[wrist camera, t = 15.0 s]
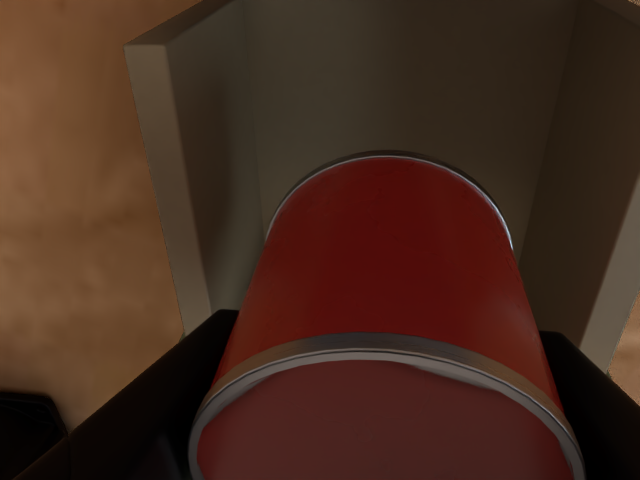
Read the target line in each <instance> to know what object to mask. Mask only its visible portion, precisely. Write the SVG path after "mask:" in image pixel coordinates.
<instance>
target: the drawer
mask: <svg viewBox="0 0 640 480" xmlns="http://www.w3.org/2000/svg"><path fill="white" fill-rule="evenodd" d="M123 50H124V55H125V59H126V64H127V69H128V73H129V78H130V82H131V87H132V92H133V96H134V101H135V106H136V110H137V115H138V119H139V124H140V129H141V133H142V138H143V143H144V147H145V152H146V156H147V161H148V166H149V170H150V175H151V180H152V184H153V189H154V193H155V198H156V203H157V207H158V212H159V217H160V221H161V226H162V230H163V235H164V240H165V244H166V249H167V253H168V258H169V263H170V267H171V272H172V277H173V281H174V286H175V290H176V295H177V300H178V304H179V309H180V314H181V318H182V323H183V327H184V332H185V337H186V336H187V335H188V334H190V333H191V332H192V331H193V330H194V329H196V328H197V327H198V326H199V325H200V324H202V323H203V322H204V321H205V320H206V319H208V318H209V317H210V316H211V315H212V314H214V313H215V312H216V311H217V310H219V309H233V310H240V308H241V306H242V303H243V300H244V298H245V295H246V293H247V290H248V287H249V285H250V282H251V279H252V277H253V274H254V271H255V269H256V266H257V264H258V261H259V258H260V256H261V253H262V250H263V248H264V245H265V242H266V235H267V232H268V229H269V226H270V222H271V220H272V217H273V215H274V213H275V211H276V209H277V207H278V205H279V204H280V202H281V201H282V199H283V198H284V196H285V195H286V194H287V192H288V191H289V190H290V189H291V188H292V187H293V186H294V185H295V184H296V183H297V182H298V181H299V180H301V179H302V178H303V177H304V176H306V175H307V174H308V173H310V172H311V171H313V170H315V169H316V168H318V167H320V166H321V165H323V164H325V163H328V162H330V161H332V160H335V159H337V158H340V157H343V156H347V155H350V154H354V153H359V152H365V151H372V150H400V151H410V152H415V153H420V154H424V155H428V156H431V157H434V158H437V159H440V160H442V161H445V162H447V163H449V164H451V165H453V166H455V167H457V168H459V169H461V170H462V171H464V172H465V173H467V174H468V175H469V176H471V177H472V178H474V179H475V180H476V181H477V182H478V183H479V184H480V185H481V186H483V187H484V188H485V189H486V190H487V192H488V193H489V194H490V195H491V196H492V198H493V199H494V200H495V201H496V203H497V205H498V206H499V208H500V210H501V212H502V213H503V215H504V218H505V221H506V223H507V226H508V228H509V231H510V235H511V240H512V245H513V253H514V256H515V259H516V263H517V266H518V269H519V272H520V275H521V278H522V282H523V285H524V288H525V291H526V294H527V297H528V300H529V304H530V307H531V310H532V313H533V316H534V319H535V323H536V326H537V329H538V330H543V331H557V332H560V333H562V334H564V335H565V336H566V337H567V338H568V339H569V340H570V341H571V342H572V343H573V344H574V345H575V346H576V347H577V348H578V349H580V350H581V351H582V352H583V353H584V354H585V355H586V356H587V357H588V358H589V359H590V360H591V361H592V362H593V363H594V364H595V365H596V366H598V367H599V368H600V369H601V370H602V371H603V372H604V373H605V374H606V373H607V370H608V368H609V365H610V363H611V360H612V358H613V355H614V353H615V350H616V348H617V345H618V343H619V340H620V338H621V335H622V333H623V330H624V328H625V325H626V323H627V320H628V318H629V315H630V312H631V310H632V307H633V305H634V302H635V300H636V297H637V295H638V292H639V290H640V6H638V5H636V4H634V3H632V2H630V1H628V0H203V1H201V2H199V3H198V4H196V5H194V6H192V7H190V8H189V9H187V10H185V11H183V12H181V13H180V14H178V15H176V16H174V17H173V18H171V19H169V20H167V21H165V22H164V23H162V24H160V25H158V26H156V27H155V28H153V29H151V30H149V31H147V32H146V33H144V34H142V35H140V36H138V37H137V38H135V39H133V40H131V41H130V42H128V43H126V44H124V45H123Z"/></svg>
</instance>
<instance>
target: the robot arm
mask: <svg viewBox="0 0 640 480" xmlns="http://www.w3.org/2000/svg"><path fill="white" fill-rule="evenodd" d="M239 311H240V310H233V309H219V310H217V311H216V312H215V313H214V314H212V315H211V316H210V317H209V318H208V319H206V320H205V321H204V322H203V323H202V324H200V325H199V326H198V327H197V328H196V329H194V330H193V331H192V332H191V333H190V334H188V335H187V336H186V337H185V338H184V339H182V340H181V341H180V342H179V343H178V344H176V345H175V346H174V347H173V348H172V349H170V350H169V351H168V352H167V353H165V354H164V355H163V356H162V357H161V358H159V359H158V360H157V361H156V362H155V363H153V364H152V365H151V366H150V367H149V368H147V369H146V370H145V371H144V372H143V373H141V374H140V375H139V376H138V377H137V378H135V379H134V380H133V381H132V382H131V383H129V384H128V385H127V386H126V387H125V388H123V389H122V390H121V391H120V392H119V393H117V394H116V395H115V396H114V397H113V398H111V399H110V400H109V401H108V402H107V403H105V404H104V405H103V406H102V407H101V408H99V409H98V410H97V411H96V412H95V413H93V414H92V415H91V416H90V417H89V418H87V419H86V420H85V421H84V422H83V423H81V424H80V425H79V426H78V427H77V428H75V429H74V430H73V431H72V432H71V433H70V434H69V436H68V434H67V432H66V429H65V427H64V425H63V423H62V420H61V418H60V416H59V414H58V411H57V409H56V407H55V405H54V403H53V401H51V400H50V399H49V398H47V397H43V396H33V395H22V394H11V393H0V480H192V477H191V474H190V471H189V465H188V459H187V445H188V437H189V434H190V430H191V427H192V423H193V421H194V418H195V416H196V413H197V411H198V409H199V407H200V405H201V403H202V401H203V399H204V397H205V395H206V394H207V393H208V392H209V390H210V387H211V385H212V382H213V379H214V377H215V374H216V371H217V369H218V366H219V364H220V361H221V358H222V356H223V353H224V350H225V348H226V345H227V343H228V340H229V337H230V335H231V332H232V329H233V327H234V324H235V321H236V319H237V316H238V314H239ZM538 332H539V335H540V338H541V342H542V345H543V348H544V351H545V354H546V357H547V360H548V364H549V367H550V370H551V373H552V376H553V379H554V383H555V386H556V389H557V392H558V395H559V398H560V402H561V405H562V408H563V411H564V414H565V417H566V419H567V421H568V422H569V424H570V425H571V427H572V429H573V431H574V434H575V436H576V439H577V441H578V444H579V447H580V450H581V453H582V456H583V459H584V463H585V469H586V475H587V480H640V406H639V405H638V404H637V403H636V402H635V401H633V400H632V399H631V398H630V397H629V396H628V395H627V394H626V393H625V392H624V391H623V390H622V389H621V388H620V387H619V386H618V385H617V384H616V383H614V382H613V381H612V380H611V379H610V378H609V377H608V376H607V375H606V374H605V373H604V372H603V371H602V370H601V369H600V368H599V367H598V366H596V365H595V364H594V363H593V362H592V361H591V360H590V359H589V358H588V357H587V356H586V355H585V354H584V353H583V352H582V351H581V350H580V349H578V348H577V347H576V346H575V345H574V344H573V343H572V342H571V341H570V340H569V339H568V338H567V337H566V336H565V335H564V334H562V333H560V332H557V331H543V330H538Z"/></svg>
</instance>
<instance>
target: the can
mask: <svg viewBox="0 0 640 480" xmlns="http://www.w3.org/2000/svg"><path fill="white" fill-rule="evenodd" d="M187 459H188V465H189V471H190V474H191V477H192V480H587V475H586V469H585V463H584V459H583V456H582V453H581V450H580V447H579V444H578V441H577V439H576V436H575V434H574V431H573V429H572V427H571V425H570V424H569V422H568V421H567V419H566V417H565V414H564V411H563V408H562V405H561V402H560V398H559V395H558V392H557V389H556V386H555V383H554V379H553V376H552V373H551V370H550V367H549V364H548V360H547V357H546V354H545V351H544V348H543V345H542V342H541V338H540V335H539V332H538V329H537V326H536V323H535V319H534V316H533V313H532V310H531V307H530V304H529V300H528V297H527V294H526V291H525V288H524V285H523V282H522V278H521V275H520V272H519V269H518V266H517V263H516V259H515V256H514V253H513V245H512V240H511V235H510V231H509V228H508V226H507V223H506V221H505V218H504V215H503V213H502V212H501V210H500V208H499V206H498V205H497V203H496V201H495V200H494V199H493V198H492V196H491V195H490V194H489V193H488V192H487V190H486V189H485V188H484V187H483V186H481V185H480V184H479V183H478V182H477V181H476V180H475V179H474V178H472V177H471V176H469V175H468V174H467V173H465V172H464V171H462V170H461V169H459V168H457V167H455V166H453V165H451V164H449V163H447V162H445V161H442V160H440V159H437V158H434V157H431V156H428V155H424V154H420V153H415V152H410V151H400V150H372V151H365V152H359V153H354V154H350V155H347V156H343V157H340V158H337V159H335V160H332V161H330V162H328V163H325V164H323V165H321V166H320V167H318V168H316V169H315V170H313V171H311V172H310V173H308V174H307V175H306V176H304V177H303V178H302V179H301V180H299V181H298V182H297V183H296V184H295V185H294V186H293V187H292V188H291V189H290V190H289V191H288V192H287V194H286V195H285V196H284V198H283V199H282V201H281V202H280V204H279V205H278V207H277V209H276V211H275V213H274V215H273V217H272V220H271V222H270V226H269V229H268V232H267V235H266V242H265V245H264V248H263V250H262V253H261V256H260V258H259V261H258V264H257V266H256V269H255V271H254V274H253V277H252V279H251V282H250V285H249V287H248V290H247V293H246V295H245V298H244V300H243V303H242V306H241V308H240V311H239V314H238V316H237V319H236V321H235V324H234V327H233V329H232V332H231V335H230V337H229V340H228V343H227V345H226V348H225V350H224V353H223V356H222V358H221V361H220V364H219V366H218V369H217V371H216V374H215V377H214V379H213V382H212V385H211V387H210V390H209V392H208V393H207V394H206V395H205V397H204V399H203V401H202V403H201V405H200V407H199V409H198V411H197V413H196V416H195V418H194V421H193V423H192V427H191V430H190V434H189V437H188V445H187Z"/></svg>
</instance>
